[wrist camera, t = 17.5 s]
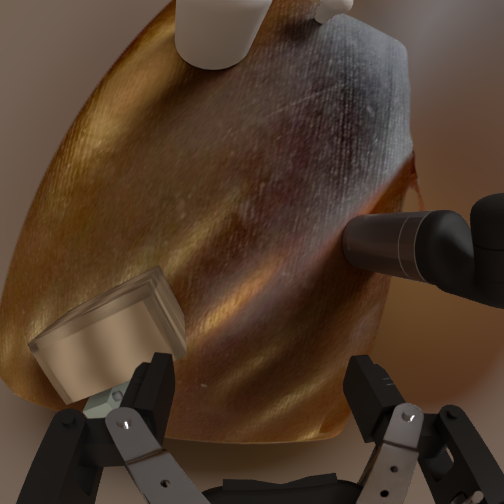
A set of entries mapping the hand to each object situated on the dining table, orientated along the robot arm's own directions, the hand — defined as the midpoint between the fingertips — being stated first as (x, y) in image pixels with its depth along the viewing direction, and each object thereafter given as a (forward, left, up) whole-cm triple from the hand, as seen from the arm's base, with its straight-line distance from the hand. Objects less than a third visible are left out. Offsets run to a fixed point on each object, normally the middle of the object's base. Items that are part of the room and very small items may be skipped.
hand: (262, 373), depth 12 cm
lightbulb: (-11, -51, -31) cm, 61 cm away
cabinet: (+9, +13, -31) cm, 35 cm away
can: (+7, -37, -31) cm, 49 cm away
